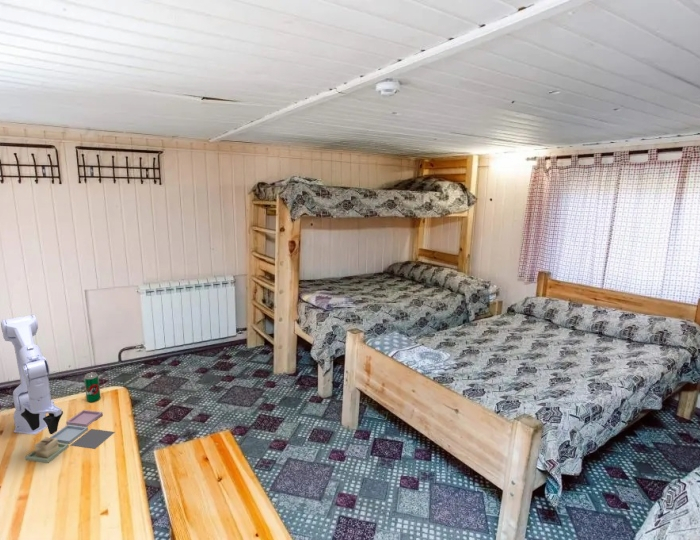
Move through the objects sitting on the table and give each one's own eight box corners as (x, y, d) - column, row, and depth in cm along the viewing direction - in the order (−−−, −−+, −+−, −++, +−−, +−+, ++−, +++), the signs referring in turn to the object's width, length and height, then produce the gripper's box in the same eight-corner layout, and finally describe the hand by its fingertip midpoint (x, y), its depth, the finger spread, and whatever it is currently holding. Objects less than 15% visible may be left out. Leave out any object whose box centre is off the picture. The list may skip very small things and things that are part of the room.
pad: (70, 446, 142) (69, 445, 142) (91, 429, 152) (91, 428, 152) (95, 449, 141) (95, 448, 141) (115, 432, 151) (115, 431, 150)
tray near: (25, 460, 134) (25, 457, 134) (47, 445, 142) (47, 441, 142) (48, 464, 133) (47, 460, 133) (68, 447, 141) (68, 444, 141)
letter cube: (36, 456, 136) (34, 444, 135) (47, 448, 140) (46, 436, 139) (47, 458, 135) (46, 446, 134) (59, 449, 140) (57, 438, 139)
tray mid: (48, 442, 144) (48, 438, 144) (68, 428, 152) (67, 424, 152) (69, 444, 143) (69, 441, 143) (88, 430, 151) (87, 427, 151)
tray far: (66, 425, 154) (66, 421, 154) (83, 413, 162) (83, 409, 162) (86, 427, 153) (86, 424, 152) (102, 415, 161) (102, 412, 161)
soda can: (103, 397, 174) (100, 372, 172) (94, 403, 169) (92, 377, 167) (92, 396, 175) (89, 371, 172) (83, 402, 170) (81, 376, 167)
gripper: (67, 392, 135) (72, 427, 138) (33, 385, 138) (38, 420, 141) (48, 402, 128) (53, 439, 131) (13, 396, 131) (18, 432, 134)
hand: (44, 430), depth 136 cm, fingers open, 7 cm apart
